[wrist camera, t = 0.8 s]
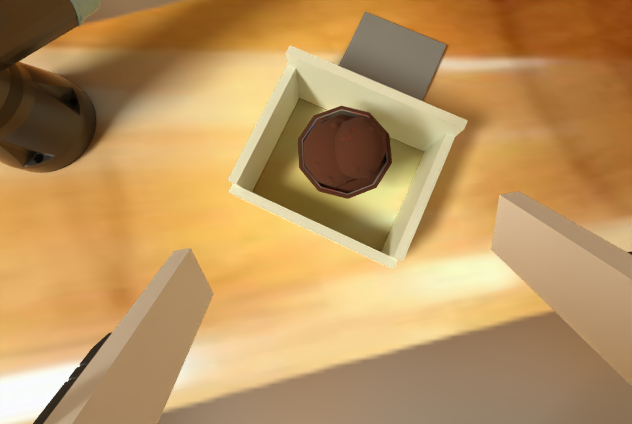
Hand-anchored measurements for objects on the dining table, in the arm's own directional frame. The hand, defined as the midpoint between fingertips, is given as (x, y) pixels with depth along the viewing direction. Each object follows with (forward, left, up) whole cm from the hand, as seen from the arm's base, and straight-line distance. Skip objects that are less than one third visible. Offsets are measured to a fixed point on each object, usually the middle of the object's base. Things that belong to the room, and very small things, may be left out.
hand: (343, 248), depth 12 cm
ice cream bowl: (-3, +11, -27) cm, 30 cm away
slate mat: (-3, +30, -27) cm, 40 cm away
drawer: (-3, +11, -27) cm, 29 cm away
